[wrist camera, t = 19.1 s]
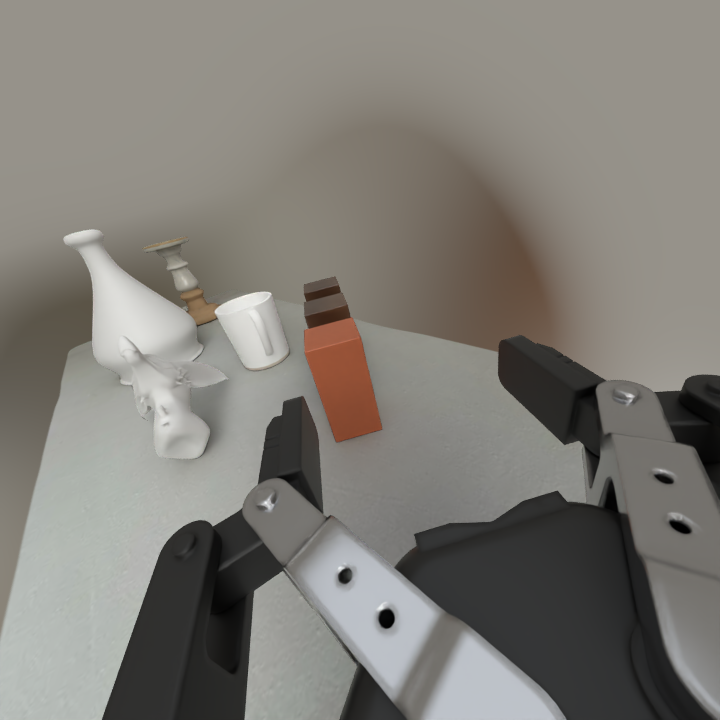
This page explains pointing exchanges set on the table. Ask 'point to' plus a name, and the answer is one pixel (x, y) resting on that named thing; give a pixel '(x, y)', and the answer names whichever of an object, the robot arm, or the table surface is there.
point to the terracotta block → (342, 378)
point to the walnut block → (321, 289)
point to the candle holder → (185, 280)
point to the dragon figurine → (170, 399)
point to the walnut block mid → (326, 310)
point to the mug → (254, 330)
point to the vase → (131, 312)
